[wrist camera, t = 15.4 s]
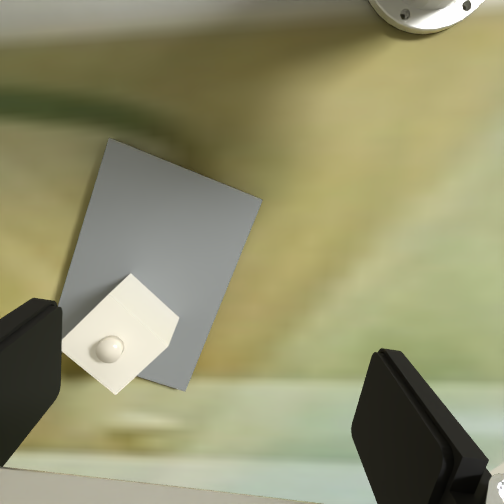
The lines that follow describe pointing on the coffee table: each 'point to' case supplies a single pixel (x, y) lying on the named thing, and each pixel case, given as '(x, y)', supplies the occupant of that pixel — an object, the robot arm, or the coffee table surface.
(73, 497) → the robot arm
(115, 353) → the white knobbed cube
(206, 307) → the board
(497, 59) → the coffee table surface
